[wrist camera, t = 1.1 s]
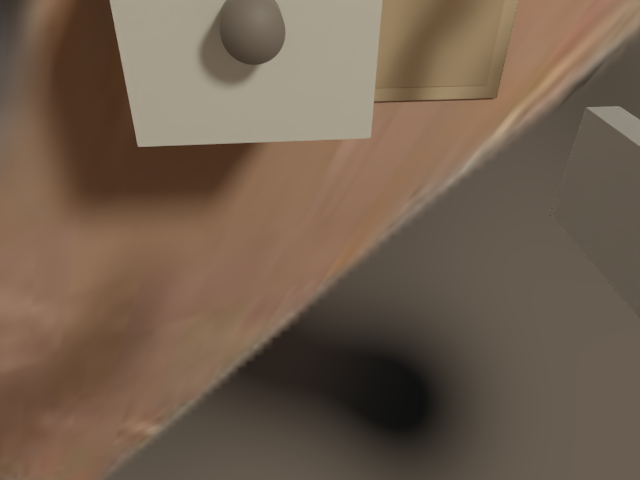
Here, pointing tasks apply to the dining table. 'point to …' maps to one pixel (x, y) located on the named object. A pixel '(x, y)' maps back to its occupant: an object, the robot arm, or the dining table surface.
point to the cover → (248, 69)
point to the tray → (442, 48)
